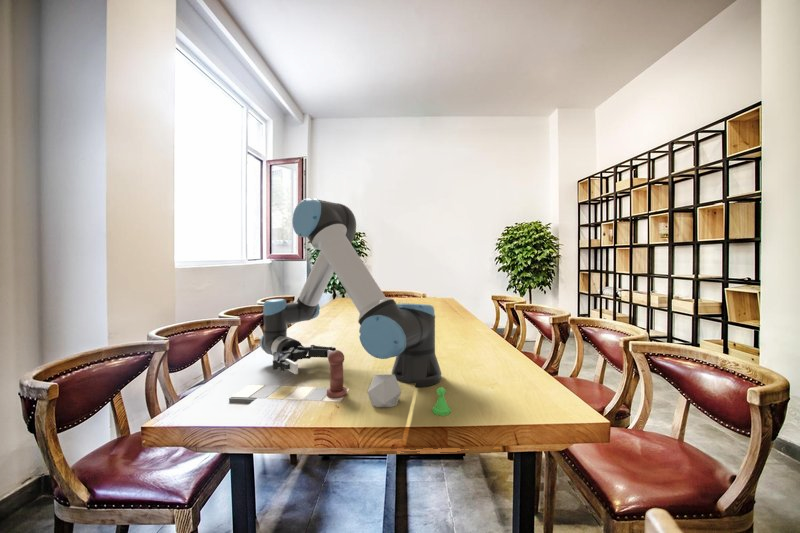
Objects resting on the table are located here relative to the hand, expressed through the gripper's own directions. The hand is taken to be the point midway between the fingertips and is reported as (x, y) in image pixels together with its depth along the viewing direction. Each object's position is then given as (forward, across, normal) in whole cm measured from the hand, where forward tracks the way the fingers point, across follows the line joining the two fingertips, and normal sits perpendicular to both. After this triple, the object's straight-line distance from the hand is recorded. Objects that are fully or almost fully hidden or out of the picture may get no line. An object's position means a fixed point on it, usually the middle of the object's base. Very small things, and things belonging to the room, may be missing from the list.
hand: (319, 363), depth 97 cm
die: (+22, -6, -8) cm, 24 cm away
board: (-1, +8, -7) cm, 11 cm away
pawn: (+9, 0, -6) cm, 11 cm away
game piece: (+33, -14, -8) cm, 37 cm away
